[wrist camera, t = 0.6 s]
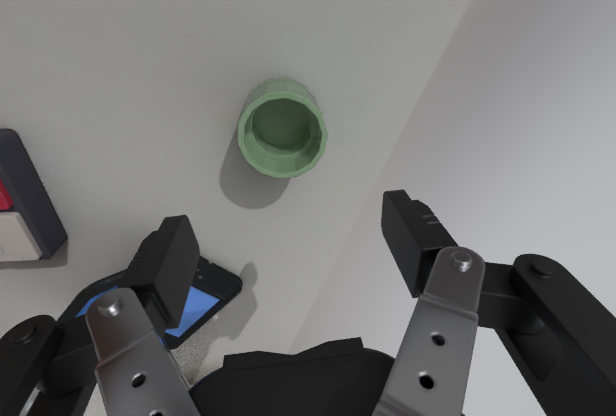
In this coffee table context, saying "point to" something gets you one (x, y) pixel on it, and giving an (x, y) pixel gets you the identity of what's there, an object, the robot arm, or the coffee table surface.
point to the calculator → (24, 207)
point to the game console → (198, 309)
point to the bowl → (281, 129)
